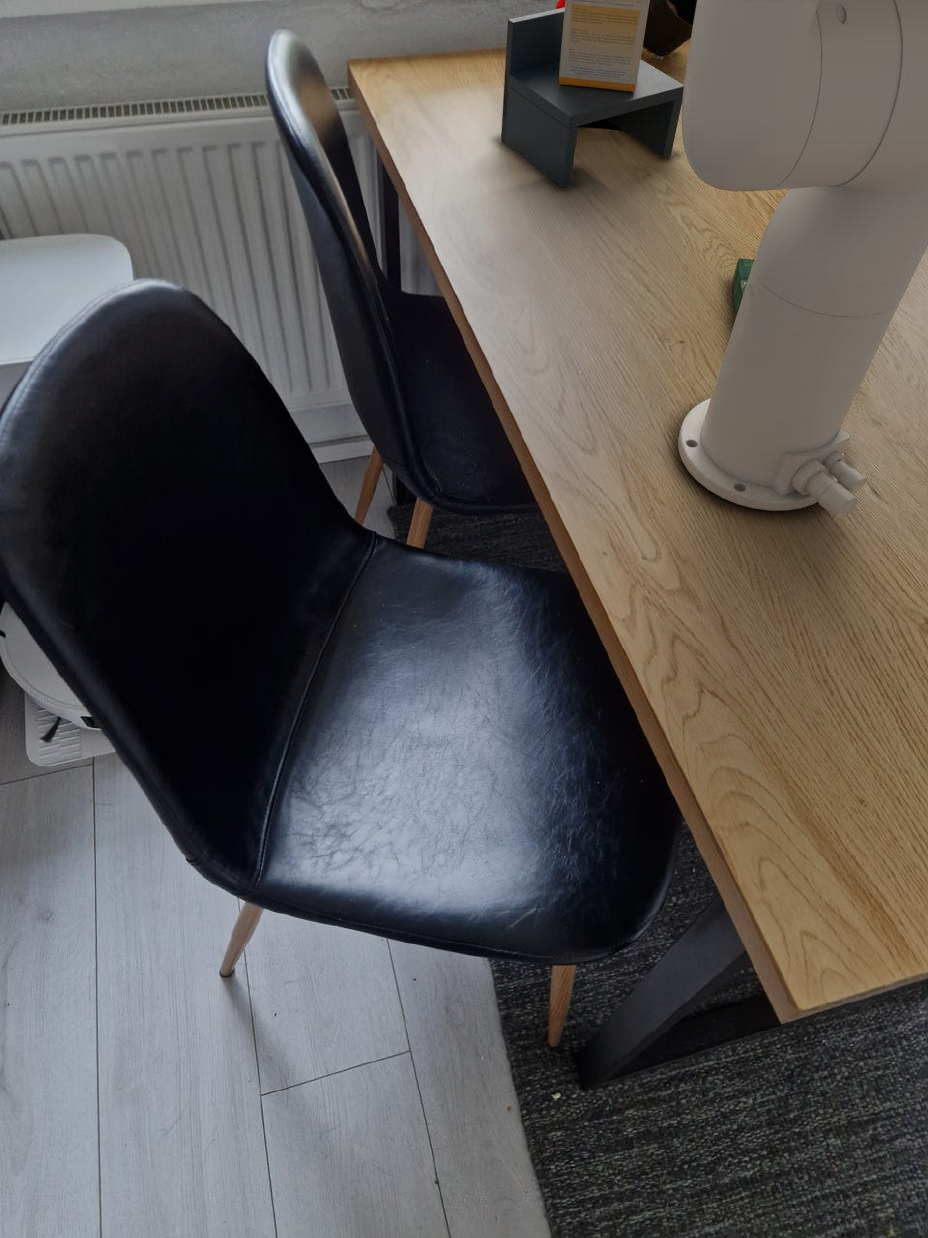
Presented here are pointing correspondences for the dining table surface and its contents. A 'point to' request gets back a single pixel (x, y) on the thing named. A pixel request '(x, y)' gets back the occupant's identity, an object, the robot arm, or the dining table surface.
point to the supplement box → (602, 43)
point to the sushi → (668, 25)
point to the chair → (574, 100)
